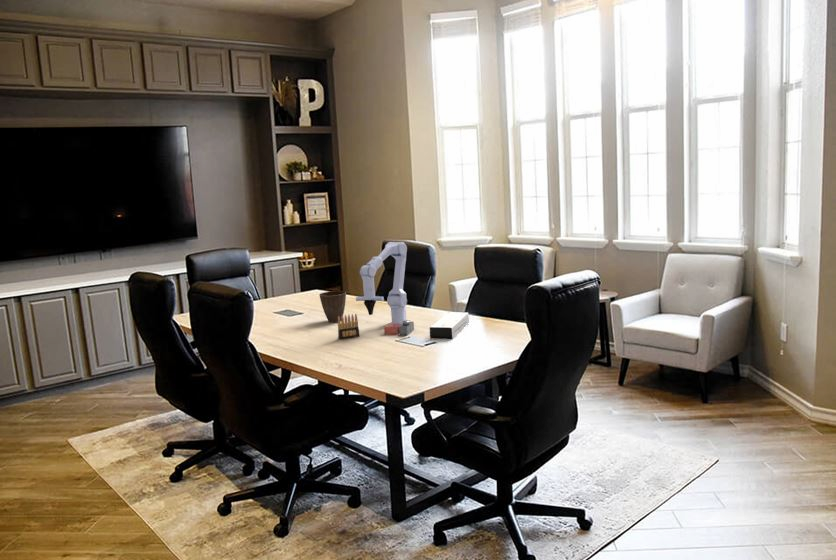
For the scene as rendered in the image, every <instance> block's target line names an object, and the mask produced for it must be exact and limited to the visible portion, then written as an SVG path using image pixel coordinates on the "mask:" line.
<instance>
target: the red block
mask: <svg viewBox="0 0 836 560" xmlns="http://www.w3.org/2000/svg"><path fill="white" fill-rule="evenodd" d="M401 325H402V324H397V323H391V322H390V323H388V324H386V325H385V326H383V328H384V329H383V330H384V331H383V332H384V335H394V336H396V335H400V333H399V329H398V328H399V327H400V326H401Z"/></svg>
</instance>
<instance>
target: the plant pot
mask: <svg viewBox="0 0 836 560" xmlns="http://www.w3.org/2000/svg"><path fill="white" fill-rule="evenodd" d="M319 300H320V303H321V306H322V309H323V312H324V316H325V317H326V319H327V321H328V322H329V323H338V316H339V317H340V322H341V317H342V316H343V317H344V312H345V307H346V301H347V291H344V290H333V291H331V290H330V291H325V292H322V293H319Z"/></svg>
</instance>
